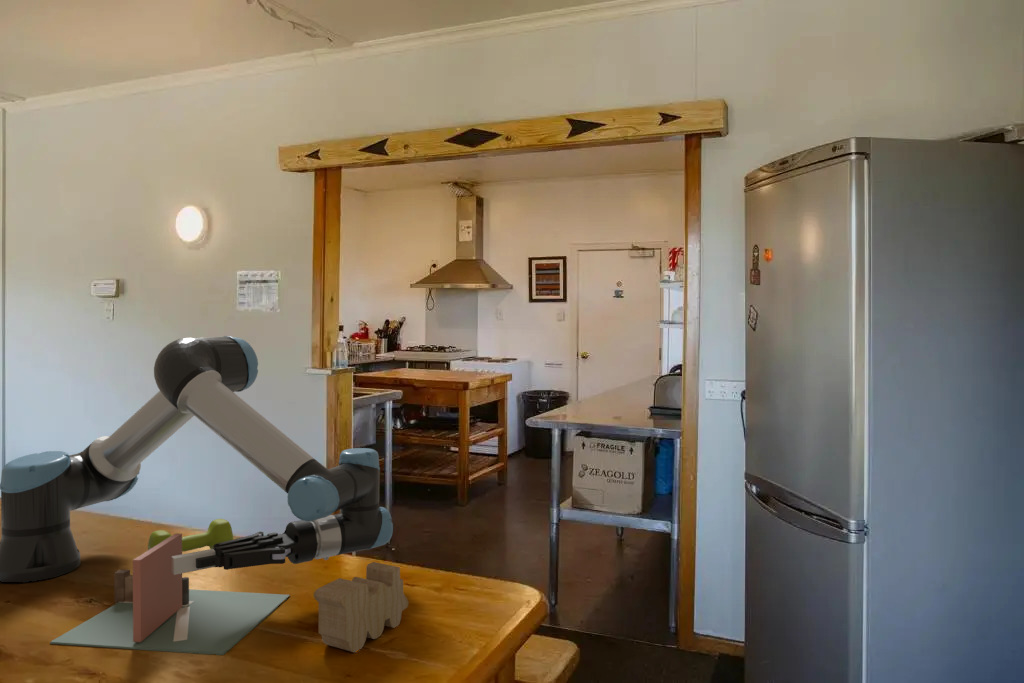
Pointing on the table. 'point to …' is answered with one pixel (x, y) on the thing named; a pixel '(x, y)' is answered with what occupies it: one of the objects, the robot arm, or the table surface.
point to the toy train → (360, 606)
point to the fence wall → (125, 587)
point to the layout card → (181, 624)
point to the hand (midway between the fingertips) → (172, 565)
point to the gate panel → (155, 587)
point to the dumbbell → (198, 536)
